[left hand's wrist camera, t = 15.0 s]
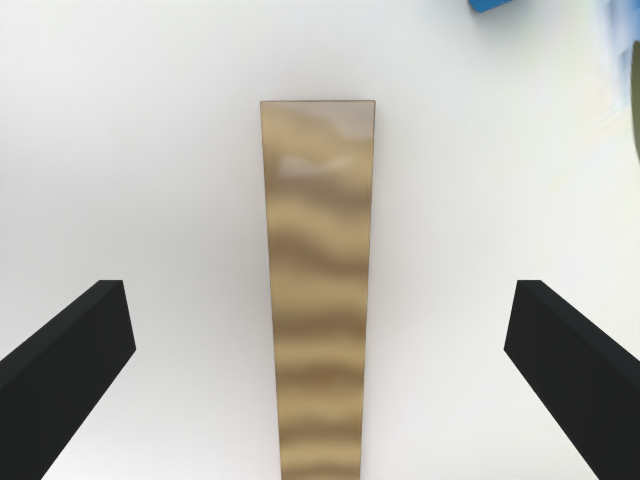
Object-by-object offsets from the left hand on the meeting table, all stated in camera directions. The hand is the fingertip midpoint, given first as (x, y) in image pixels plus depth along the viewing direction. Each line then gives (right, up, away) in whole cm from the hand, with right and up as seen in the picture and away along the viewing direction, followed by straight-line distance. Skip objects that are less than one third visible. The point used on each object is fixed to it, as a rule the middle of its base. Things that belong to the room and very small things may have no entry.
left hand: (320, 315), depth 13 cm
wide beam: (0, -15, +33) cm, 36 cm away
